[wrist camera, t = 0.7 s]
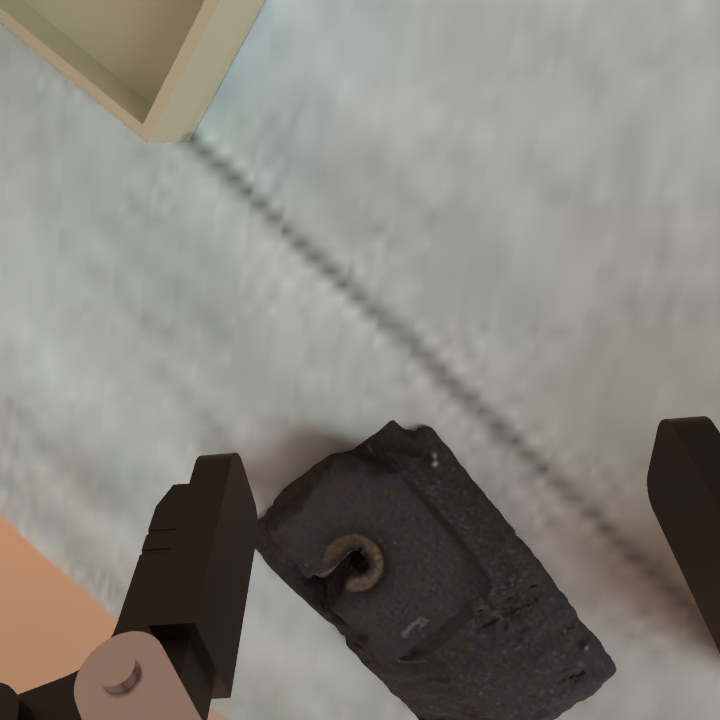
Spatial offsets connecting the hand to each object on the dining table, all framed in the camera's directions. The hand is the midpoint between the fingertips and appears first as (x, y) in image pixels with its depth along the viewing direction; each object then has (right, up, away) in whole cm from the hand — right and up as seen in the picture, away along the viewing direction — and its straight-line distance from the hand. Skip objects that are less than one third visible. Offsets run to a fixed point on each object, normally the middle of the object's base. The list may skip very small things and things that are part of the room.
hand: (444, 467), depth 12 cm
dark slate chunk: (+3, -12, +29) cm, 31 cm away
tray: (-14, +21, +21) cm, 33 cm away
